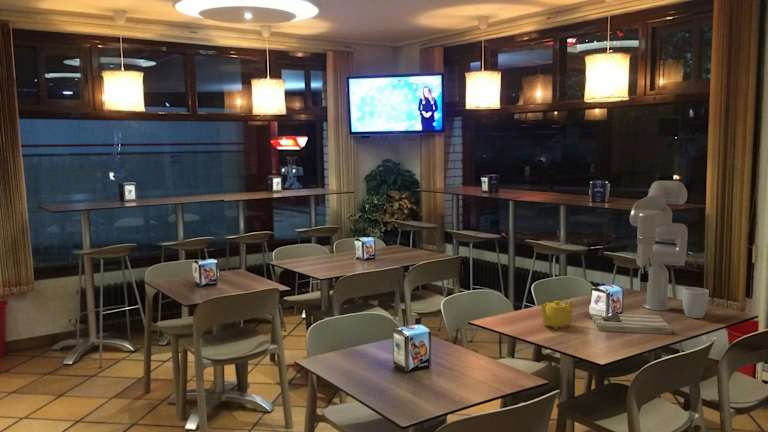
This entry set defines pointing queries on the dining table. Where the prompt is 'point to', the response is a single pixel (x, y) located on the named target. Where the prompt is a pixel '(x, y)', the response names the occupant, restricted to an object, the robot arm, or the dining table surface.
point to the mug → (695, 301)
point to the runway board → (633, 324)
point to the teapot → (557, 314)
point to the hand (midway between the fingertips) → (644, 281)
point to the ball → (613, 317)
